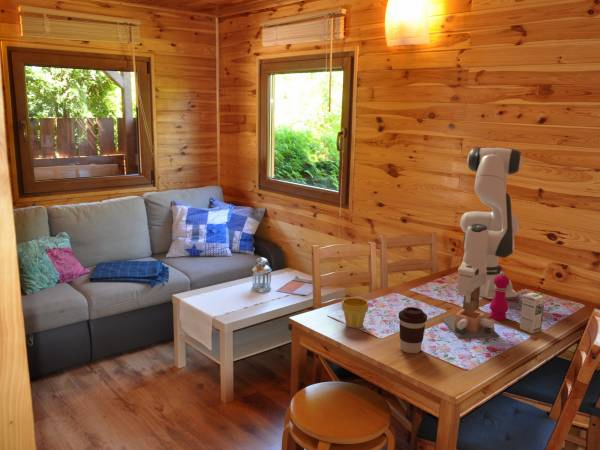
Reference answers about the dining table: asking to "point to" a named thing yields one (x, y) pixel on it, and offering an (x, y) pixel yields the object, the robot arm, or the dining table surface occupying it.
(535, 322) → the syrup box
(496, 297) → the pepper mill
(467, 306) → the walnut coupler
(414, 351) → the coffee cup
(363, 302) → the plant pot
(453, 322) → the grey base with box
